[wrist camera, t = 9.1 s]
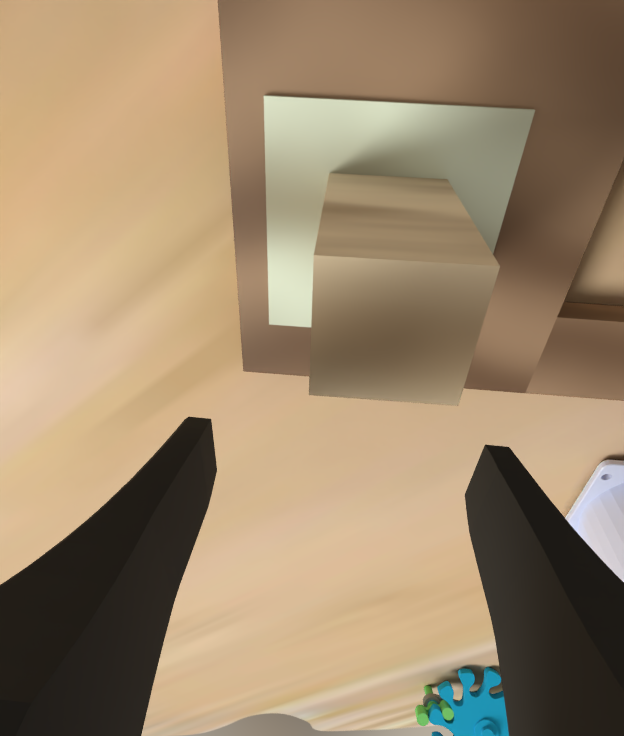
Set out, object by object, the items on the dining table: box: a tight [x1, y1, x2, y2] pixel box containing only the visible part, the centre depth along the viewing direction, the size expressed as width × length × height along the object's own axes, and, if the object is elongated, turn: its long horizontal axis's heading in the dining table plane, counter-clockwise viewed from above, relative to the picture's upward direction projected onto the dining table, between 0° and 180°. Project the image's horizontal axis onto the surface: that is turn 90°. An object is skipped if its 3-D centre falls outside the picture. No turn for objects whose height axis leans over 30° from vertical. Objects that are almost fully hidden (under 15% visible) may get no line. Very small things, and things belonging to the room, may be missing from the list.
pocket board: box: [218, 0, 624, 401], centre depth 17 cm, size 14×22×2 cm, turn 88°
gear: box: [415, 667, 509, 736], centre depth 43 cm, size 11×6×10 cm
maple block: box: [309, 173, 500, 406], centre depth 14 cm, size 4×4×7 cm
